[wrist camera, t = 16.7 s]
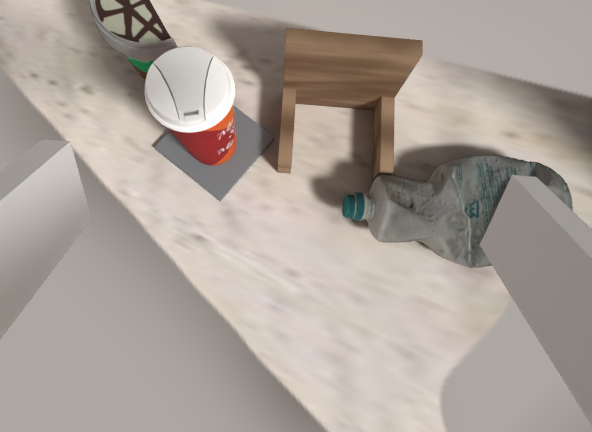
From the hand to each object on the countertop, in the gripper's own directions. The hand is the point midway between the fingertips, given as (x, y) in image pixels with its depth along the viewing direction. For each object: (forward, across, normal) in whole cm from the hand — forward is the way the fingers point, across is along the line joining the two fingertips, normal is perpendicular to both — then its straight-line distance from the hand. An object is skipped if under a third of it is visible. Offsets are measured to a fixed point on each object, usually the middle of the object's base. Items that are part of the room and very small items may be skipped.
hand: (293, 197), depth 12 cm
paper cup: (+32, -9, -13) cm, 36 cm away
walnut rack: (+34, +6, -12) cm, 37 cm away
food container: (+40, -17, -7) cm, 44 cm away
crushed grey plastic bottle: (+28, +19, -18) cm, 39 cm away
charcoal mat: (+33, -8, -14) cm, 36 cm away
